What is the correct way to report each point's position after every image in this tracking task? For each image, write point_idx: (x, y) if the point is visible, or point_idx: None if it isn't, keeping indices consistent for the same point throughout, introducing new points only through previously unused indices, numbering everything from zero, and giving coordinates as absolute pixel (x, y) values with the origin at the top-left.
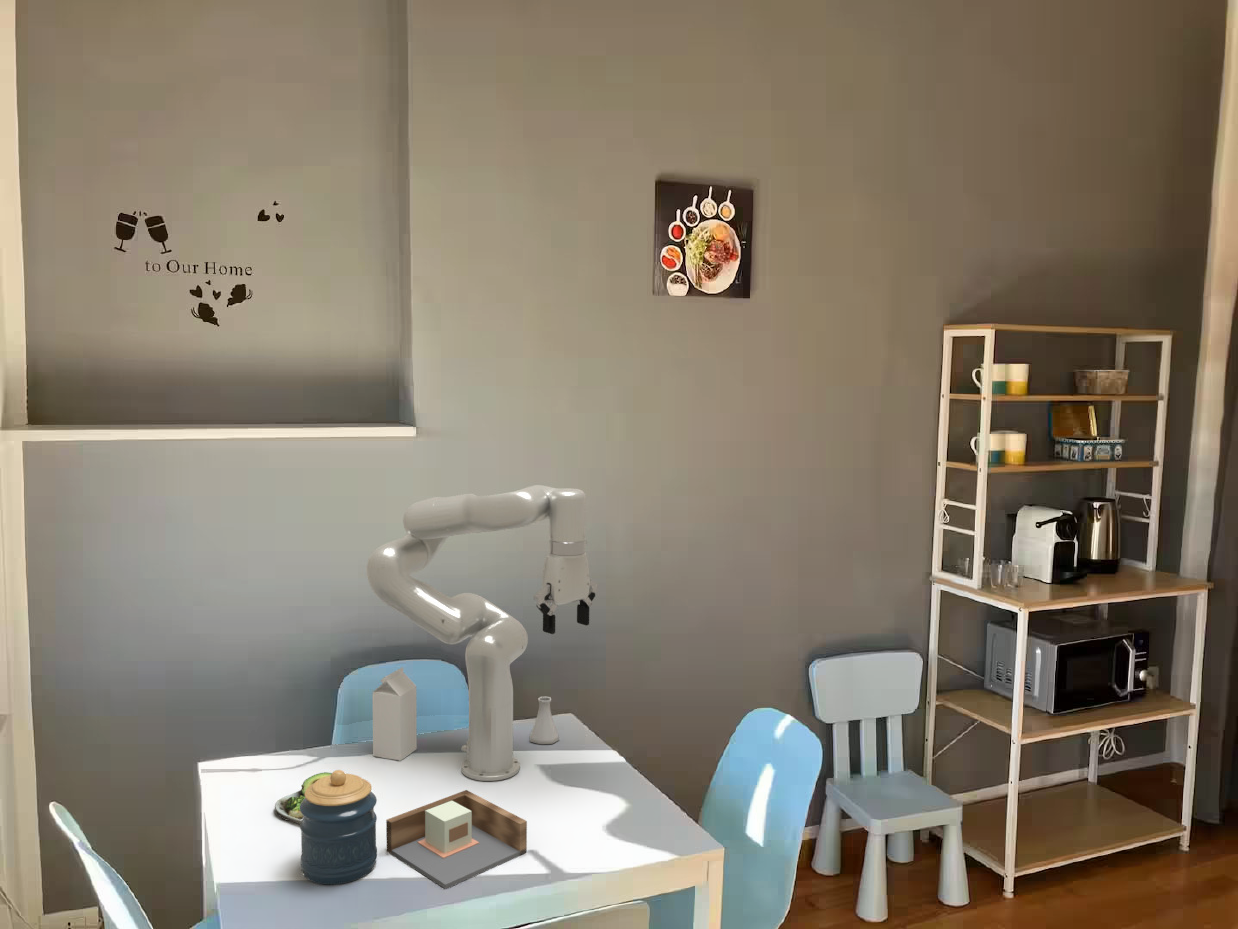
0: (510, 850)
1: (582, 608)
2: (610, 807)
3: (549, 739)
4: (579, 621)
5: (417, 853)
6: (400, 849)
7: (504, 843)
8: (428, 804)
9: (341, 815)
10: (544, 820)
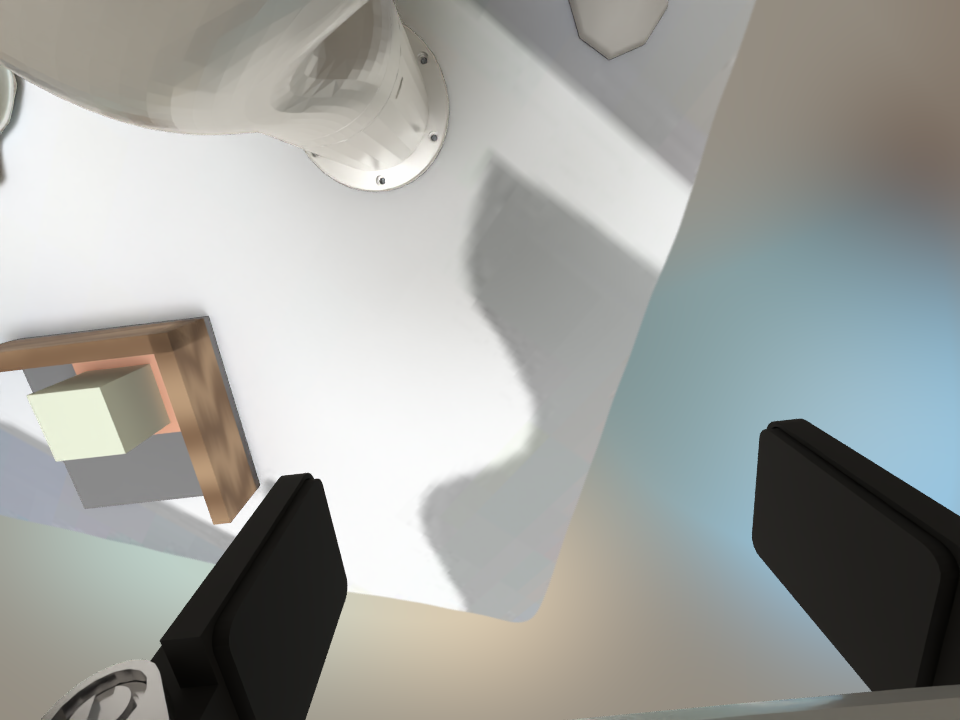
0: None
1: (898, 641)
2: (488, 439)
3: (607, 46)
4: (769, 472)
5: None
6: None
7: None
8: (57, 347)
9: None
10: (348, 409)
